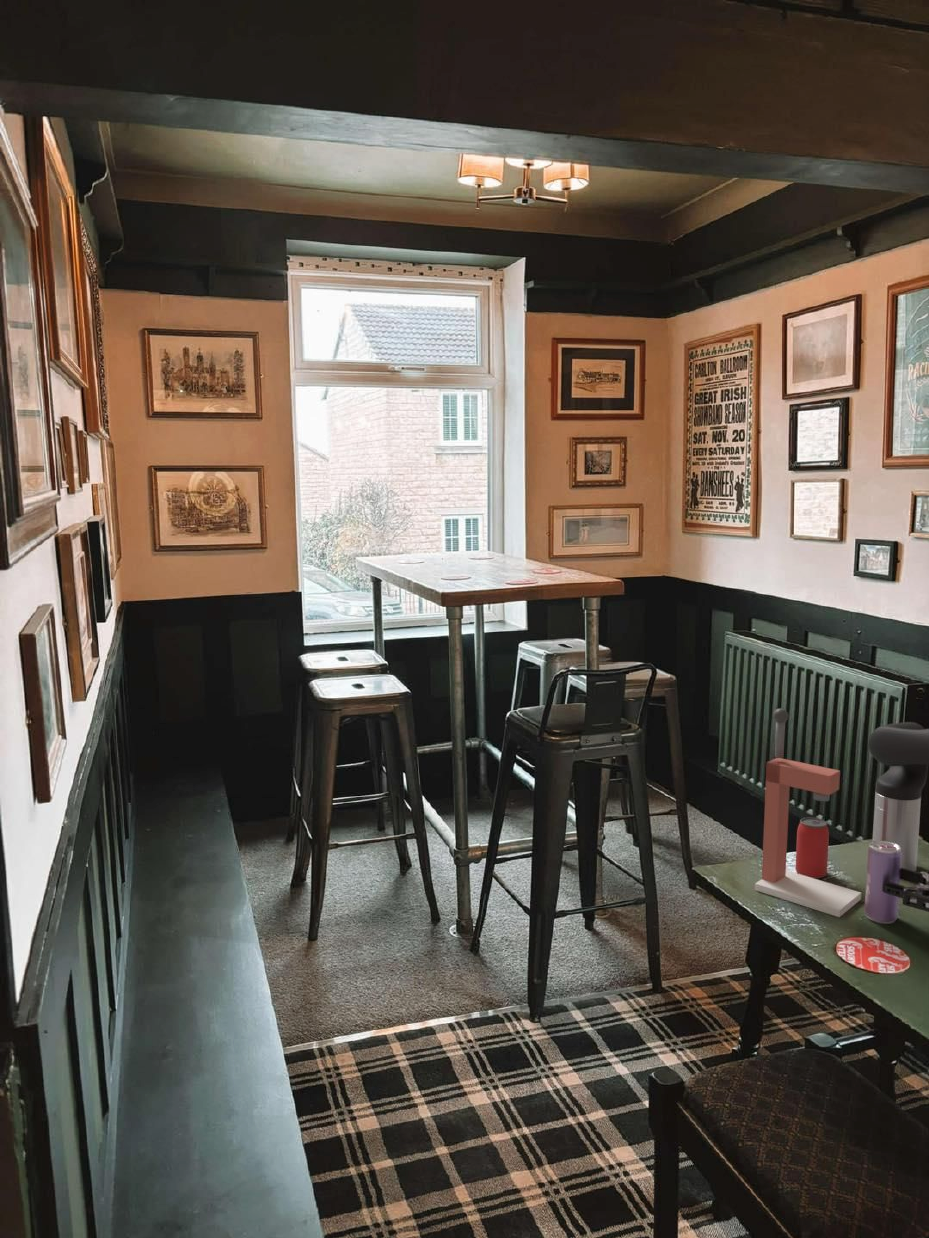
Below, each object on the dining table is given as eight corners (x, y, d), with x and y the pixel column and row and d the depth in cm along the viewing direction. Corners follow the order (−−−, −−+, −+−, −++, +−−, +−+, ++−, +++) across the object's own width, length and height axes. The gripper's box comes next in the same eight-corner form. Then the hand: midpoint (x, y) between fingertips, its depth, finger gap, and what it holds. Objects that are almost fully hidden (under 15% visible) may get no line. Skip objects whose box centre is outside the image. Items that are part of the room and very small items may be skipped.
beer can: (832, 874, 201) (835, 822, 199) (816, 882, 197) (818, 829, 195) (806, 864, 206) (808, 814, 204) (789, 872, 202) (791, 820, 200)
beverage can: (900, 925, 177) (905, 852, 175) (868, 923, 178) (872, 850, 176) (892, 912, 183) (897, 841, 180) (861, 909, 184) (865, 839, 182)
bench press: (778, 874, 201) (785, 702, 195) (860, 899, 188) (871, 717, 183) (754, 889, 193) (762, 712, 188) (839, 917, 181) (849, 727, 175)
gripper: (995, 874, 171) (905, 850, 183) (972, 898, 161) (878, 872, 172) (992, 911, 172) (902, 885, 184) (969, 938, 162) (876, 909, 174)
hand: (891, 879), depth 178 cm, fingers open, 8 cm apart
